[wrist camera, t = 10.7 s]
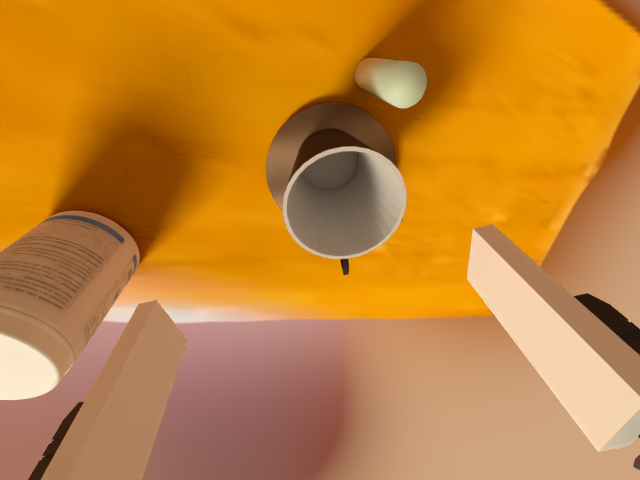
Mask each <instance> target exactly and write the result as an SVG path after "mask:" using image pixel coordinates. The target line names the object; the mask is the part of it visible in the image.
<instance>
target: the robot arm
mask: <svg viewBox="0 0 640 480" xmlns="http://www.w3.org/2000/svg"><path fill="white" fill-rule="evenodd" d="M467 280H468V281H469V282H470V284H471V285H472V286H473V287H474V289H475V290H476V291H477V293H478V294H479V295H480V297H481V298H482V299H483V301H484V302H485V303H486V305H487V306H488V307H489V309H490V310H491V311H492V313H493V314H494V315H495V316H496V318H497V319H498V320H499V322H500V323H501V324H502V326H503V327H504V328H505V330H506V331H507V332H508V334H509V335H510V336H511V338H512V339H513V340H514V342H515V343H516V344H517V345H518V347H519V348H520V349H521V351H522V352H523V353H524V355H525V356H526V357H527V359H528V360H529V361H530V363H531V364H532V365H533V367H534V368H535V369H536V371H537V372H538V373H539V374H540V376H541V377H542V378H543V380H544V381H545V382H546V384H547V385H548V386H549V388H550V389H551V390H552V392H553V393H554V394H555V396H556V397H557V398H558V399H559V401H560V402H561V403H562V405H563V406H564V407H565V409H566V410H567V411H568V413H569V414H570V415H571V417H572V418H573V419H574V421H575V422H576V423H577V425H578V426H579V427H580V428H581V430H582V431H583V432H584V434H585V435H586V436H587V438H588V439H589V440H590V442H591V443H592V444H593V446H594V447H595V448H596V450H598V452H600V451H606V450H611V449H616V448H621V447H626V446H629V445H630V444H631V443H632V442H633V441H634V440H635V439H637V438H638V437H639V438H640V329H639V328H638V327H637V326H635V325H634V324H633V323H632V322H628V319H627V318H625V317H624V316H623V315H622V314H621V313H619V312H618V311H617V310H616V309H615V308H613V307H612V306H611V305H610V304H608V303H606V302H604V301H602V300H600V299H598V298H596V297H594V296H592V295H590V294H582V295H578V296H572V295H571V294H570V293H569V292H568V291H566V289H565V288H563V287H562V286H561V285H560V284H559V283H558V282H557V281H556V280H554V279H553V278H552V277H551V276H550V275H549V274H548V273H547V272H545V271H544V270H543V269H542V268H541V267H540V266H539V265H538V264H536V263H535V262H534V261H533V260H532V259H531V258H530V257H529V256H527V255H526V254H525V253H524V252H523V251H522V250H521V249H520V248H519V247H517V246H516V245H515V244H514V243H513V242H512V241H511V240H510V239H508V238H507V237H506V236H505V235H504V234H503V233H502V232H501V231H499V230H498V229H497V228H496V227H495V226H494V225H493V224H492V225H487V226H483V227H479V228H474V229H473V234H472V242H471V250H470V258H469V266H468V274H467ZM187 341H188V339H187V338H186V337H185V336H184V335H183V333H182V332H181V331H180V329H179V328H178V327H177V326H176V324H175V323H174V322H173V321H172V319H171V318H170V317H169V316H168V314H167V313H166V312H165V311H164V309H163V308H162V307H161V305H160V304H159V303H158V302H157V300H155V301H151V302H146V303H142V304H139V305H138V306H137V308H136V310H135V312H134V314H133V315H132V317H131V319H130V321H129V322H128V324H127V326H126V328H125V330H124V331H123V333H122V335H121V337H120V339H119V341H118V342H117V344H116V346H115V347H114V349H113V351H112V353H111V355H110V356H109V358H108V360H107V362H106V364H105V365H104V367H103V369H102V371H101V373H100V375H99V376H98V378H97V380H96V381H95V383H94V385H93V387H92V389H91V391H90V392H89V394H88V396H87V398H86V399H85V401H84V402H79V403H78V404H77V405H76V406H75V408H73V410H72V411H71V412H70V413H69V414H68V415H67V417H66V418H65V419H64V420H63V421H62V423H61V425H60V427H59V428H58V430H57V432H56V433H55V435H54V437H53V438H52V443H51V444H49V445H48V447H47V449H46V450H45V452H44V454H43V456H42V460H41V461H39V462H38V464H37V466H36V467H35V470H34V471H33V472H32V474H31V476H30V478H29V479H28V480H142V477H143V474H144V471H145V468H146V465H147V462H148V459H149V456H150V453H151V450H152V447H153V444H154V441H155V438H156V435H157V432H158V429H159V426H160V423H161V419H162V416H163V414H164V411H165V407H166V404H167V401H168V398H169V395H170V392H171V389H172V386H173V383H174V380H175V377H176V374H177V371H178V368H179V365H180V362H181V359H182V356H183V353H184V350H185V347H186V343H187ZM634 467H635V468H637V469H639V470H640V455H639V456H638V457H637V458H636V459H635V461H634Z"/></svg>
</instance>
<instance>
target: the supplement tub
mask: <svg viewBox="0 0 640 480" xmlns="http://www.w3.org/2000/svg"><path fill="white" fill-rule="evenodd" d="M139 261H140V254H139V249H138V246H137V244H136V242H135V240H134V239H133V237H132V236H131V235H130V234H129V233H128V232H127V231H126V230H125V229H123V228H122V227H121V226H120V225H118V224H117V223H115V222H114V221H112V220H110V219H108V218H106V217H104V216H101V215H98V214H95V213H92V212H86V211H65V212H60V213H57V214H54V215H52V216H50V217H49V218H47V219H46V220H45V221H43V222H42V223H40V224H39V225H38V226H36V227H35V228H33V229H32V230H31V231H29V232H28V233H26V234H25V235H24V236H22V237H21V238H20V239H18V240H17V241H15V242H14V243H13V244H11V245H10V246H9V247H7V248H6V249H4V250H3V251H2V252H0V400H17V399H26V398H32V397H36V396H39V395H42V394H45V393H47V392H49V391H50V390H52V389H53V388H54V387H55V386H56V385H57V384H58V383H59V381H60V380H61V379H62V377H63V376H64V375H65V374H66V373H67V372H68V371H69V370H70V368H71V367H72V365H73V364H74V362H75V361H76V359H77V358H78V356H79V355H80V354H81V352H82V351H83V349H84V348H85V346H86V345H87V343H88V341H89V340H90V339H91V337H92V336H93V334H94V333H95V331H96V330H97V328H98V326H99V325H100V324H101V322H102V320H103V319H104V317H105V316H106V314H107V313H108V311H109V310H110V308H111V307H112V305H113V304H114V302H115V301H116V299H117V298H118V296H119V295H120V293H121V292H122V290H123V289H124V287H125V286H126V284H127V283H128V281H129V280H130V278H131V277H132V275H133V274H134V272H135V271H136V269H137V267H138V265H139Z"/></svg>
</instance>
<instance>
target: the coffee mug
mask: <svg viewBox="0 0 640 480" xmlns="http://www.w3.org/2000/svg"><path fill="white" fill-rule="evenodd" d="M406 203H407V192H406V187H405V183H404V179H403V178H402V176H401V174H400V172H399V170H398V169H397V168H396V166H395V165H394V164H393V163H392V162H391V161H390V160H389V159H387V158H386V157H384V156H383V155H382V154H380V153H379V152H377V151H375V150H374V149H372V148H371V147H369V146H367V145H366V144H364V143H363V142H361V141H359V140H358V139H356V138H355V137H353V136H351V135H350V134H348V133H347V132H345V131H342V130H340V129H335V128H326V129H321V130H318V131H316V132H314V133H312V134H311V135H310V136H308V137H307V138H306V139H305V140H304V141H303V143H302V145H301V146H300V148H299V151H298V154H297V157H296V160H295V163H294V166H293V169H292V172H291V175H290V178H289V181H288V184H287V187H286V190H285V193H284V198H283V205H282V209H283V218H284V222H285V225H286V228H287V230H288V231H289V233H290V235H291V237H292V238H293V239H294V240H295V241H296V242H297V243H298V244H299V245H300V246H301V247H303V248H304V249H305V250H307V251H309V252H311V253H313V254H315V255H317V256H321V257H325V258H331V259H340V260H341V266H342V270H343V274H344V275H348V273H349V261H348V259H349V258H353V257H358V256H361V255H364V254H366V253H369V252H371V251H372V250H374V249H376V248H378V247H379V246H381V245H382V244H383V243H384V242H386V241H387V240H388V239H389V238H390V237H391V236H392V234H393V233H394V232H395V231H396V229H397V228H398V226H399V225H400V223H401V221H402V218H403V216H404V213H405V209H406Z"/></svg>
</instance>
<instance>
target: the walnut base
mask: <svg viewBox="0 0 640 480" xmlns="http://www.w3.org/2000/svg"><path fill="white" fill-rule="evenodd" d="M326 128H335V129H340V130H342V131H345V132H347V133H348V134H350V135H351V136H353V137H355V138H356V139H358V140H359V141H361V142H363V143H364V144H366V145H367V146H369V147H371V148H372V149H374V150H375V151H377V152H379V153H380V154H382V155H383V156H384V157H386V158H387V159H389V160H390V161H391V162H392V163H393V164H394V165H395V166H396V163H395V152H394V148H393V144H392V141H391V139H390V137H389V135H388V133H387V132H386V130H385V129H384V127H383V126H382V125H381V124H380V123H379V121H378V120H377V119H375V118H374V117H373V116H372V115H370V114H369V113H368V112H366V111H364V110H363V109H361V108H359V107H356V106H354V105H350V104H346V103H340V102H325V103H320V104H315V105H312V106H310V107H307V108H305V109H303V110H301V111H299V112H297V113H296V114H295V115H293V116H292V117H290V118H289V119H288V120H287V121H286V122H285V123H284V124H283V125H282V127H281V128H280V129H279V131H278V132H277V134H276V135H275V137H274V139H273V141H272V143H271V146H270V149H269V153H268V157H267V164H266V176H267V183H268V186H269V189H270V192H271V194H272V197H273V198H274V200H275V202H276V203H277V205H278V206H279V207H280V208H281V210H282V211H283V209H282V205H283V198H284V193H285V190H286V187H287V184H288V181H289V178H290V175H291V172H292V169H293V166H294V163H295V160H296V157H297V154H298V151H299V148H300V146H301V145H302V143H303V141H304V140H305V139H306V138H307V137H308V136H310V135H311V134H312V133H314V132H316V131H318V130H321V129H326Z"/></svg>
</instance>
